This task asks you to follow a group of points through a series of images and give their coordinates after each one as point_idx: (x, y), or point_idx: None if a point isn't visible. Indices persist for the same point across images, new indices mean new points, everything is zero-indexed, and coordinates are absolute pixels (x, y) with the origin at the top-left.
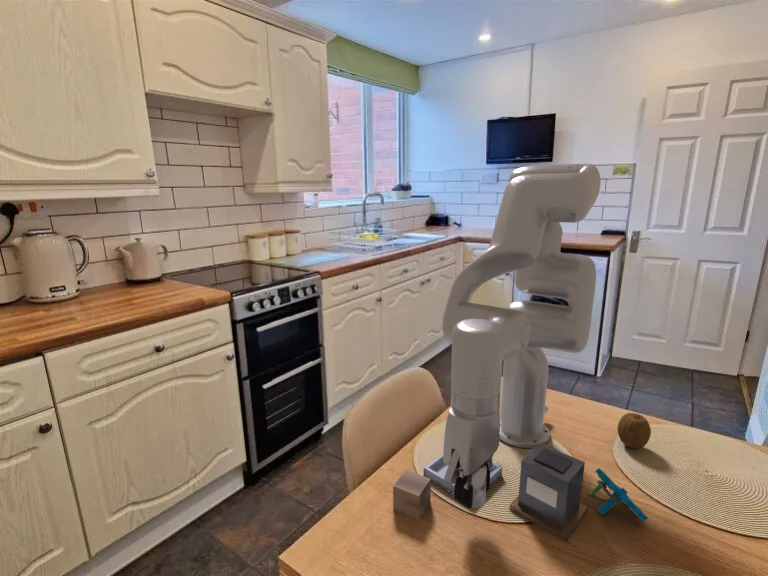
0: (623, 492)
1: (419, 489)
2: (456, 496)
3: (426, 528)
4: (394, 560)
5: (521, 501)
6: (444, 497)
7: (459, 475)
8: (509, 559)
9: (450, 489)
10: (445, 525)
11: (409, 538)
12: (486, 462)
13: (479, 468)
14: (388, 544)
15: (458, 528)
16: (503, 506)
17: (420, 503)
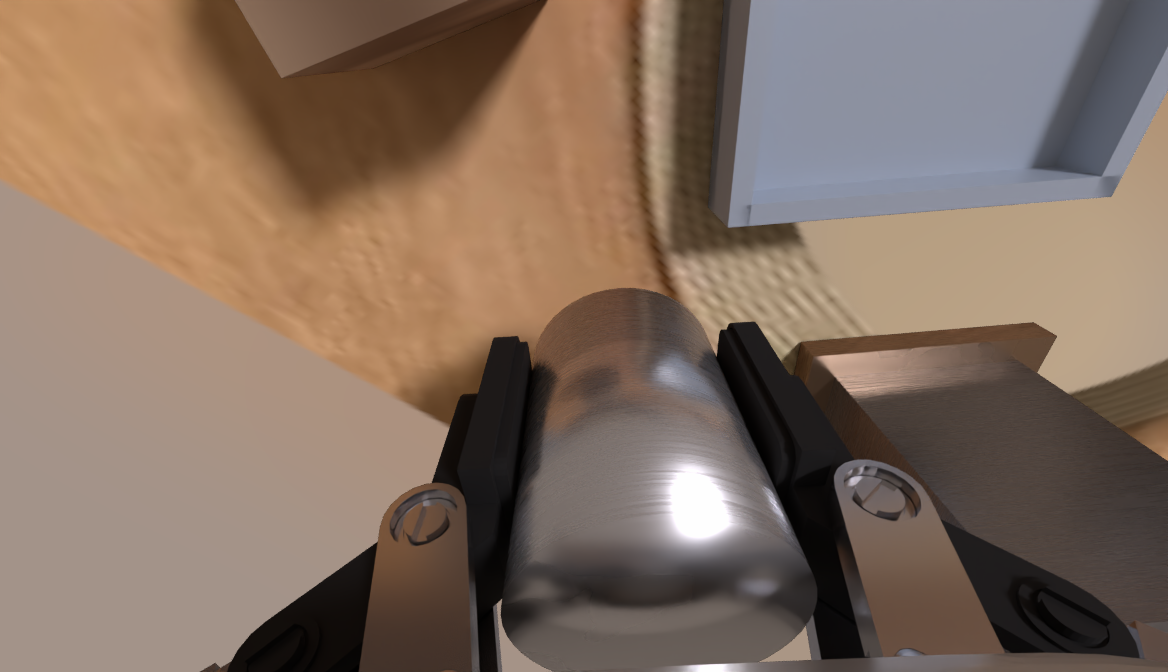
0: None
1: (336, 6)
2: (456, 411)
3: (382, 151)
4: (101, 188)
5: (844, 406)
6: (656, 41)
7: (472, 555)
8: None
9: (730, 38)
10: (488, 209)
11: (248, 135)
12: (816, 650)
13: (687, 645)
14: (95, 78)
15: (528, 264)
16: (803, 315)
17: (356, 61)
